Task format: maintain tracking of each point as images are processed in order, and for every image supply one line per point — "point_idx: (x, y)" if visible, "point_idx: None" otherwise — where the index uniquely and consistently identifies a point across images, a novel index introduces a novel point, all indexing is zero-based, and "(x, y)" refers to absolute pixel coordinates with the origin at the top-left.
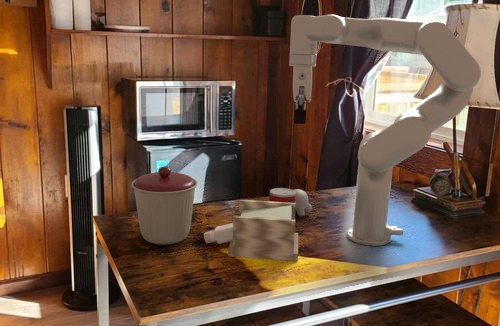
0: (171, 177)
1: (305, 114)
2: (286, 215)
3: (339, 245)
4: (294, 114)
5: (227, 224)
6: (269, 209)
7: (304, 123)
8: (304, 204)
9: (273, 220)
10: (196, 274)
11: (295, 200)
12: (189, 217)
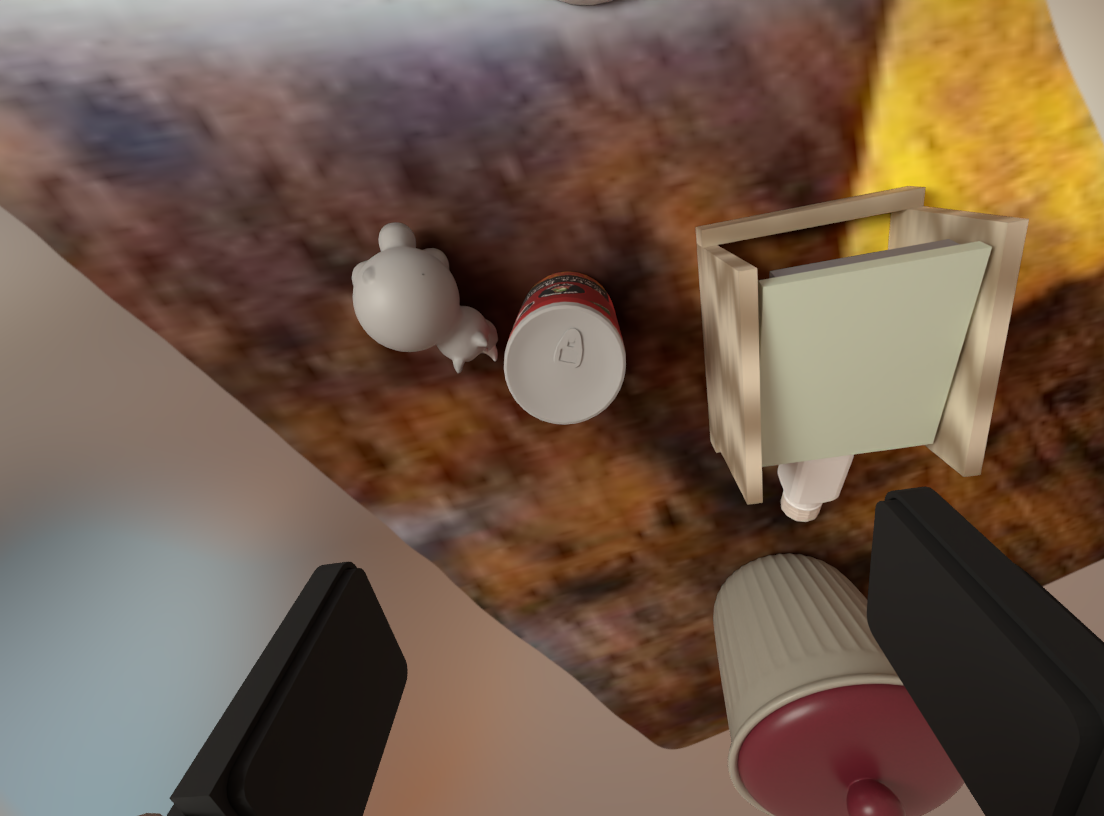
0: (870, 769)
1: (1063, 620)
2: (913, 280)
3: (720, 29)
4: (384, 726)
5: (809, 479)
6: (787, 372)
7: (926, 498)
8: (436, 258)
9: (1006, 320)
10: (1017, 456)
11: (453, 304)
12: (824, 593)
